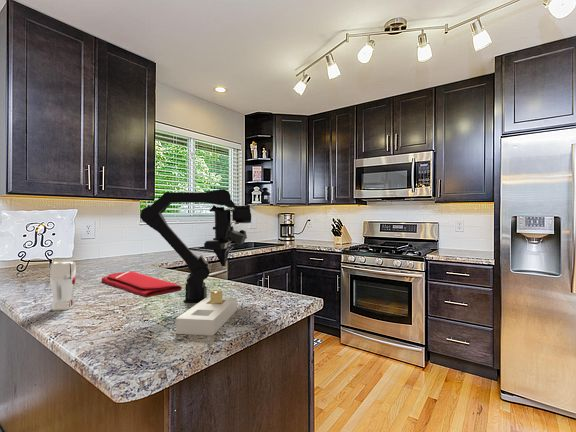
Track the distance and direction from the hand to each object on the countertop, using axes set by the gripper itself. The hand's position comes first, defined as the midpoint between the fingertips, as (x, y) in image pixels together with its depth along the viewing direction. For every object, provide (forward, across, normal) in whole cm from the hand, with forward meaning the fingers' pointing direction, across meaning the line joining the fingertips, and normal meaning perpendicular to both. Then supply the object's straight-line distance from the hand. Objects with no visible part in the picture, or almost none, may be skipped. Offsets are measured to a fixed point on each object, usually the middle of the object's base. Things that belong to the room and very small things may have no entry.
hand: (223, 266), depth 116 cm
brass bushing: (+12, -18, -5) cm, 22 cm away
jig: (+12, -23, -6) cm, 27 cm away
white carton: (+11, -24, +46) cm, 53 cm away
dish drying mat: (+12, +11, +45) cm, 47 cm away
